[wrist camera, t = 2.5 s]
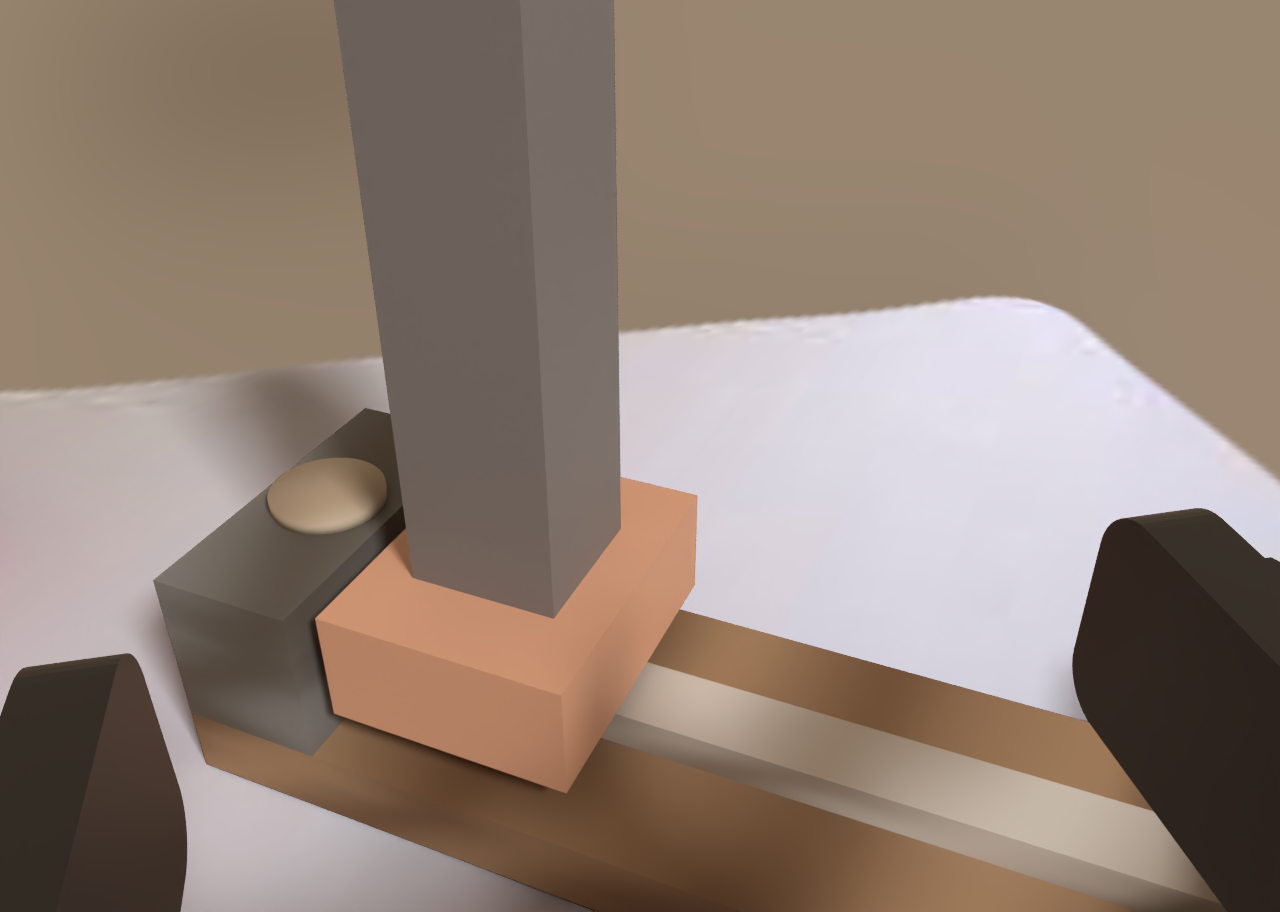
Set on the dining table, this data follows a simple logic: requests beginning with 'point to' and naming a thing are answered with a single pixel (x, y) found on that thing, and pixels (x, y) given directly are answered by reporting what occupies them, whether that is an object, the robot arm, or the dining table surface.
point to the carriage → (499, 391)
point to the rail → (666, 749)
